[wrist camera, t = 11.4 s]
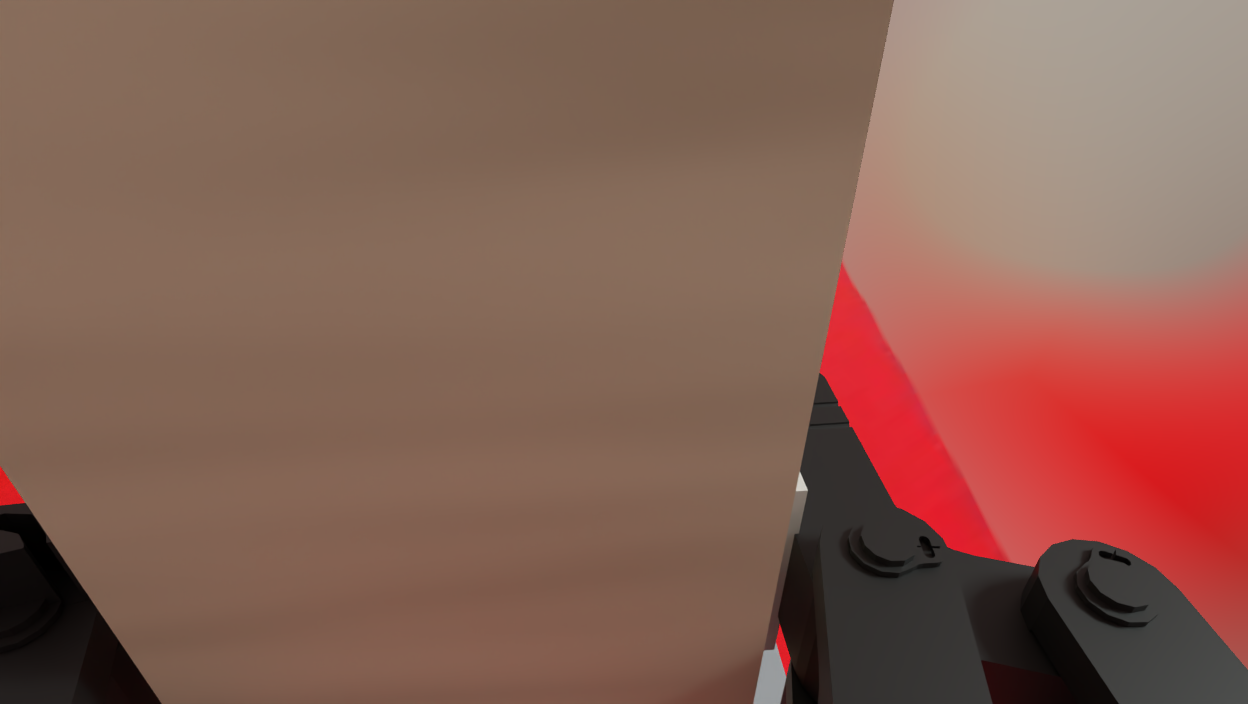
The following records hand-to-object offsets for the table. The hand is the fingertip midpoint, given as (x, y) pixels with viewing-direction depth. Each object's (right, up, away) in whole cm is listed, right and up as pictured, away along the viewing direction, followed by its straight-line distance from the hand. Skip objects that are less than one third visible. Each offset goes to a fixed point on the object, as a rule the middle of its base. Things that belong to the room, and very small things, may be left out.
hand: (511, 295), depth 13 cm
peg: (+1, -11, +1) cm, 11 cm away
